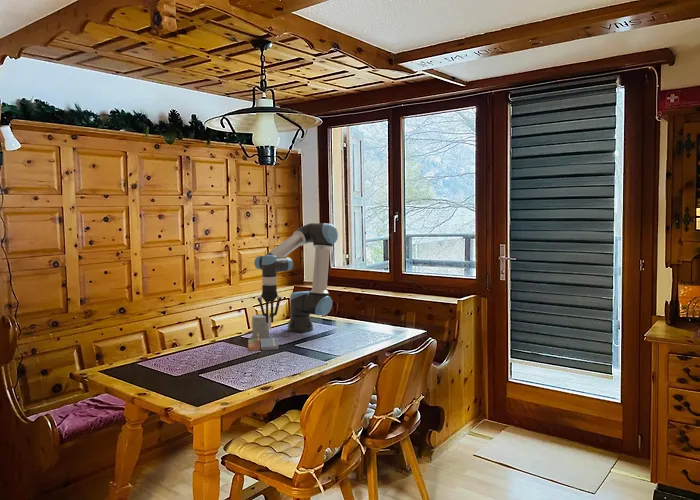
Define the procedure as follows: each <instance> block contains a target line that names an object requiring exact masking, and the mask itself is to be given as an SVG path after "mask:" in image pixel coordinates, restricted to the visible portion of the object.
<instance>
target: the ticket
mask: <svg viewBox="0 0 700 500" xmlns="http://www.w3.org/2000/svg"><path fill="white" fill-rule="evenodd" d="M259 340H260V350H261V351H269V350H279V347H280V346H279V342H278V338H277V337H269V338H263V339H259Z"/></svg>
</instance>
